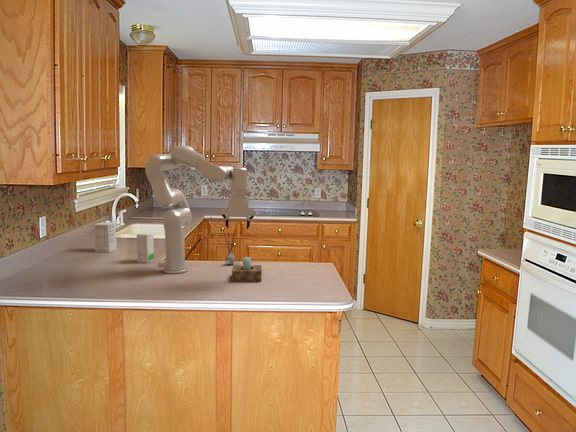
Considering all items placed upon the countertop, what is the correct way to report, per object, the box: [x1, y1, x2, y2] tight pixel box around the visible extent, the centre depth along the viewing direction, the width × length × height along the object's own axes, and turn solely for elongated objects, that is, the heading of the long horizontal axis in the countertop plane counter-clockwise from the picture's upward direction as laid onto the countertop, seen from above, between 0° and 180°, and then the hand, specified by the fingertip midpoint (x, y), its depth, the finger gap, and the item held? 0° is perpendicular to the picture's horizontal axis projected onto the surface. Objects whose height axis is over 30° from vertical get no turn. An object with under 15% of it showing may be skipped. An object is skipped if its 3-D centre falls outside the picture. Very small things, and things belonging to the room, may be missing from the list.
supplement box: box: [93, 221, 118, 253], centre depth 306 cm, size 10×9×17 cm
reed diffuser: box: [222, 228, 241, 265], centre depth 274 cm, size 10×7×20 cm
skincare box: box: [136, 232, 155, 264], centre depth 280 cm, size 8×7×16 cm
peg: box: [242, 256, 252, 270], centre depth 246 cm, size 4×4×10 cm
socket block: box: [231, 264, 263, 283], centre depth 247 cm, size 14×12×5 cm
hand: (237, 228), depth 247 cm, fingers open, 9 cm apart
